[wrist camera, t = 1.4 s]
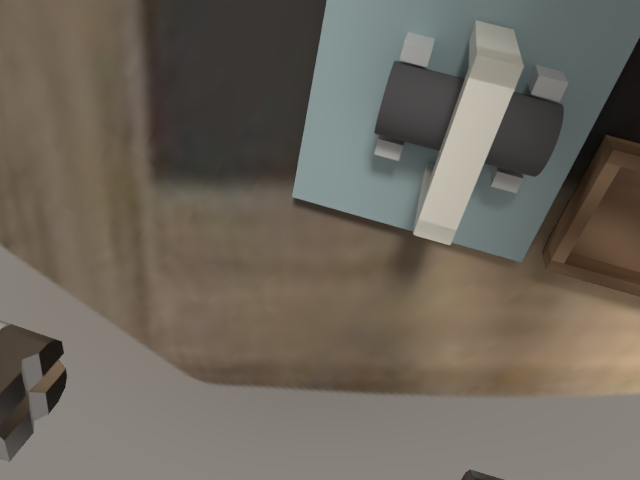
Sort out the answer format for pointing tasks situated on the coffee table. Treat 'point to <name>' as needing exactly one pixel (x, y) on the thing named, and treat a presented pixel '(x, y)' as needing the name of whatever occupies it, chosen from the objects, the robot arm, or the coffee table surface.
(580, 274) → the tray
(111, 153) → the coffee table surface
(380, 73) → the clip board
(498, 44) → the u-shaped staple bracket
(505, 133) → the dark grey rounded bar
